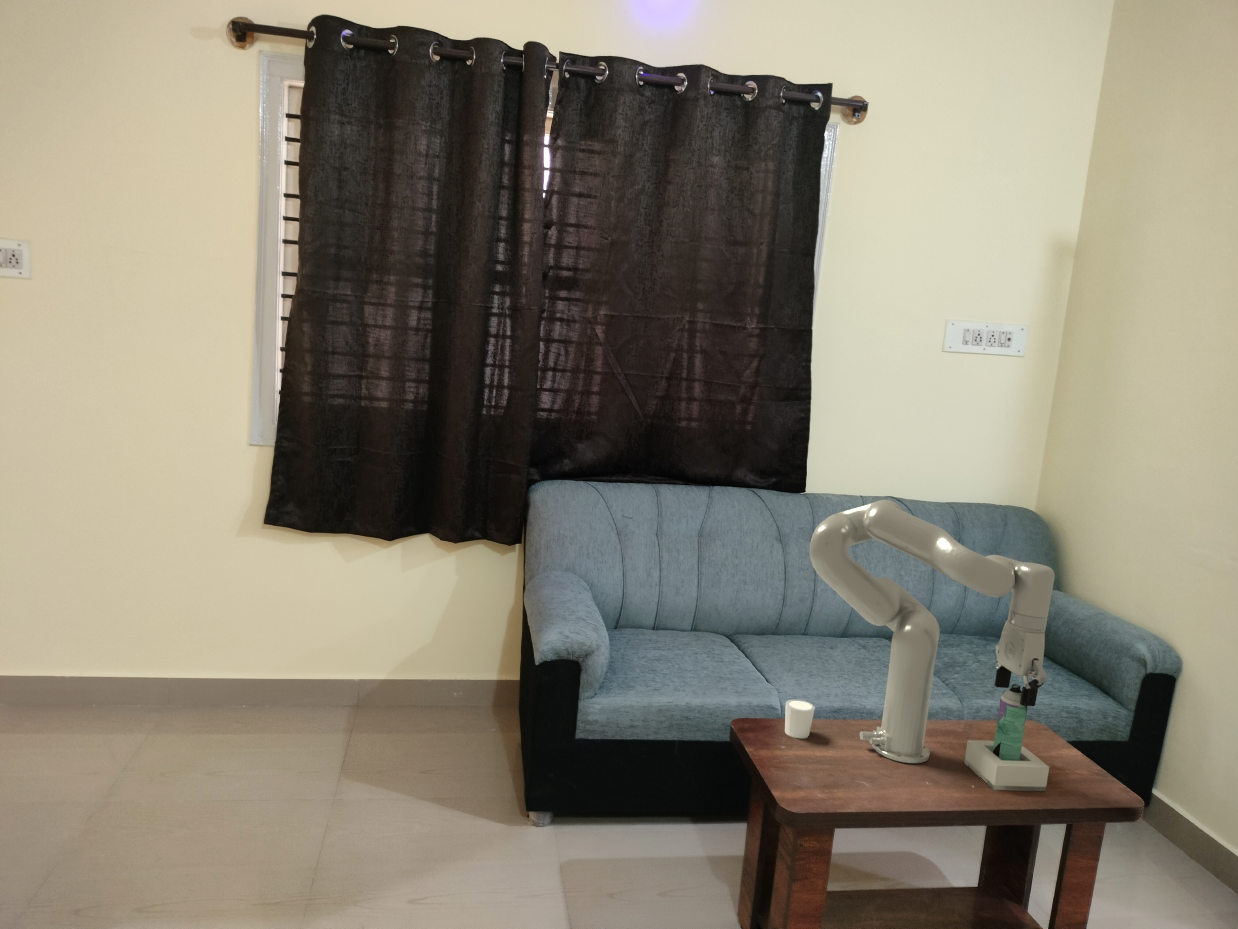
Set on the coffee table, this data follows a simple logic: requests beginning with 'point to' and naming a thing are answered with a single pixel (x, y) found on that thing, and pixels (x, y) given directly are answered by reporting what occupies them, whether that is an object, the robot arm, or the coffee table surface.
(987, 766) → the can holder
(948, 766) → the coffee table surface
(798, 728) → the white cup
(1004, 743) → the spray can
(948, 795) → the coffee table surface
